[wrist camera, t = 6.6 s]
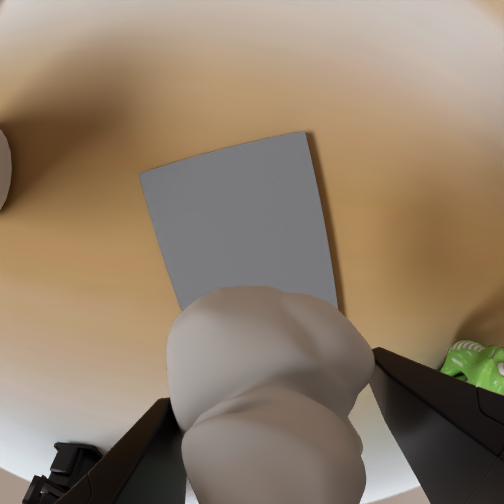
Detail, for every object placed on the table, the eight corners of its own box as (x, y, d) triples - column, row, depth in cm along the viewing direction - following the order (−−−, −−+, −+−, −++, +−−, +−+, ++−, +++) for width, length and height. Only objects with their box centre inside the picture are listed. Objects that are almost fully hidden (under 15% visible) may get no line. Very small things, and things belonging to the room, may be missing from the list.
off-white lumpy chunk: (264, 217, 8) (444, 519, 1) (379, 353, 10) (494, 525, 2) (137, 331, 9) (40, 562, 1) (267, 431, 11) (295, 609, 3)
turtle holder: (488, 276, 21) (581, 332, 9) (479, 397, 26) (528, 453, 14) (381, 341, 21) (461, 447, 10) (398, 447, 26) (436, 521, 15)
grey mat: (339, 332, 21) (341, 336, 20) (205, 365, 21) (205, 370, 20) (302, 132, 17) (304, 131, 16) (141, 173, 17) (138, 173, 16)
